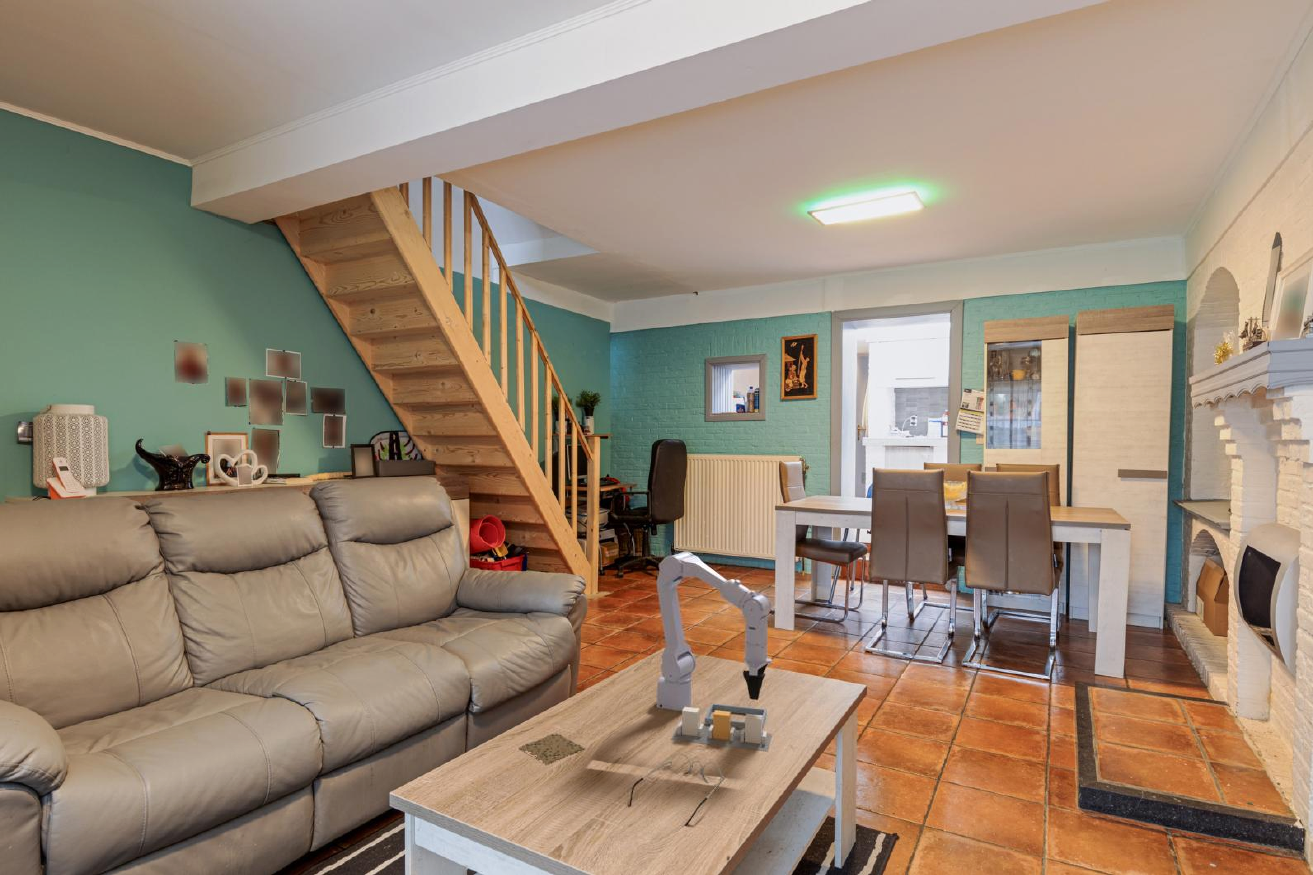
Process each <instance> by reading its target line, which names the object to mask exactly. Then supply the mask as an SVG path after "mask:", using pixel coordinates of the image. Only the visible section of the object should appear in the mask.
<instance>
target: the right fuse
mask: <svg viewBox="0 0 1313 875" xmlns="http://www.w3.org/2000/svg"><path fill="white" fill-rule="evenodd" d="M744 719H745V720H744V722H745V742H750V743H759V744H761V743H762V733H763V731H762V720H763V715H754V714H745V716H744Z"/></svg>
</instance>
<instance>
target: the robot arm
mask: <svg viewBox="0 0 1313 875" xmlns="http://www.w3.org/2000/svg"><path fill="white" fill-rule="evenodd" d="M658 569H659V572H658V575H657V579H656V589H657V595H658V602H659V603H658V604H659V607H660V608H659V610H660V615H661V621H662V622H661V623H662V629H663V634H664V640H665V648H664V649H663V652H662V654H661V661H662V662H661V665H660V666H661V667H660V672H661V675H662V676H660V677H659V678H658V680H657V686H656V708H657V709H658V708H659V709H660V708H661V709H665V710H666V709H667V710H671V711H680V712H682V710H683V708H684V707H691V708H692V677H693V676H692V674H693V671H695V668H696V666H697V662H696V658H695V656H694V655H693V653H692V648H691V646H690V645H689V644H688V643H687V642H686V639H685V638H686V637H685V633H684V627H683V626H684V625H683V619H682V615H681V608H680V602H679V595H678V589H677V588H678V585H680V583H681V582H682V581H683V579H684V578H691V577H692V578H693V577H694V578H695V577H696V578H697V579H699V580H701V581H703V582H704V583H706V584H708V585H709V586H711V587H713V588H714V589H716V590H717V591H719V592H720V595H721V598H722V599H724V600H725V601H726V602H728V603H729V604H730V605H733V606H734V607H735V608H737V609H739V610H740V611H741V613H742V615H743V617H744V619H745V626H744V627H745V628H744V629H745V631H744V632H745V636H744V637H745V639H744V640H745V643H744V644H745V646H744V648H745V649H744V659H743V661H744V663H745V664H746V665H747V668H748V670H746V669H745V670H743V672H742V675H743V679H744V680H745V683H746V686H747V690H748V696H749V700H754V701H755V700H757V701H758V700H759V697H760V692H761V689H762V687H763V686H762V685H763V681H764V679H765V677H766V673H765V671H766V668H767V667H768V665H769V664H772V658H768V614H769V613H770V612H771V610H772V609H771V608H772V604H771V601H770V599H769V598H768V596H766V595H765V594H764V593H756V591H755V590H750V589H749V588H748V587H746V586H744V584H741V583H742V582H741V581H740V580H739V579H736V580H735V579H734V578H733V579H732V578H731V579H728V580H727V579H726V578H724V577H723V576H722V575H721V574H719V573H718V572H716V571H715V570H714V569H712V568H711V567H710V566H709V565H708V564H706V563H704V562H703V561H702V560H701V559H700V558H699V557H698V556H697V555H694V554H693V553H691V552H690V551H687V550H686V551H685V550H684V551H681V552H680V553H676V554H674V555H667V556H666V557H664V558H663V560H662V561H661V562H660V563H659V564H658Z"/></svg>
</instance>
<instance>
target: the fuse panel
mask: <svg viewBox="0 0 1313 875" xmlns="http://www.w3.org/2000/svg"><path fill="white" fill-rule="evenodd" d="M772 735H773V734H772V733H769V732H768V731H766V730H763V731H762V743H761V744H759V743H750V742H745V729H744V728H741V730H740V729H736V728H735V727H731V731H730V738H729V740H726V739H717V738H713V725H710V726H709V725H708V726H706V725H705V723H700V727H699V730H698V736H692V735H684V734H682V720H680V721H679V723H678V725H677V727H676V729H675V731H674V733H673V735H672V737H671V739H670V740H671V741H676V742H677V741H678V742H685V743H686V742H687V743H693V744H702V745H709V746H718V747H727V748H733V749H734V748H735V749H743V750H751V751H759V752H767V753H768V752H769V749H770V744H771V739H772Z"/></svg>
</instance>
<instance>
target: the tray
mask: <svg viewBox="0 0 1313 875" xmlns="http://www.w3.org/2000/svg"><path fill="white" fill-rule="evenodd" d="M715 710H718V711H727V712H731V713H736V714H737V713H738V714H745V715H746V714H754V715H763V720H762V732H764V727H765V723H766V719H767V708H760V707H759V708H757V707H751V706H749V707H748V706H738V705H731V704H721V703H710V706H709V707H708V710H707V712H706V714H705V717H704V725H708V726H709V725H710V726H711V725H713V717H711V716H712V714H713V713H714V711H715ZM732 727H734V728H735V729H742V728H743V729H745V721H743V720H742V721H741V720H733V719H731V728H732Z"/></svg>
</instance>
